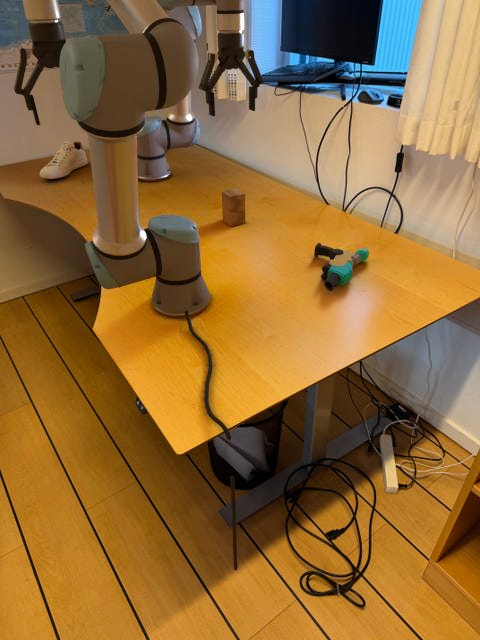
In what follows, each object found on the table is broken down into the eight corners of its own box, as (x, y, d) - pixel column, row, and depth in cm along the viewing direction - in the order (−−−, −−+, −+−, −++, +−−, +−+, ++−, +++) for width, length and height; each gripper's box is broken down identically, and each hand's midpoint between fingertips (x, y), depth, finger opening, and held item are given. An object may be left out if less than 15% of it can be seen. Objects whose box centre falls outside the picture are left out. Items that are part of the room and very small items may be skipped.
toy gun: (291, 271, 128) (345, 285, 123) (324, 234, 147) (372, 245, 141) (290, 285, 131) (343, 299, 125) (322, 247, 150) (369, 258, 144)
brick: (237, 216, 170) (237, 187, 163) (245, 223, 165) (245, 193, 159) (222, 220, 167) (221, 191, 161) (230, 226, 163) (229, 196, 157)
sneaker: (33, 182, 200) (26, 152, 193) (72, 161, 222) (66, 134, 215) (55, 184, 198) (48, 154, 191) (91, 163, 220) (86, 135, 213)
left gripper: (262, 28, 140) (261, 105, 152) (184, 33, 131) (189, 115, 143) (275, 30, 134) (273, 110, 147) (194, 35, 125) (199, 120, 138)
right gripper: (96, 17, 114) (111, 111, 127) (-17, 23, 105) (11, 123, 118) (103, 19, 109) (118, 117, 122) (-14, 25, 100) (15, 130, 112)
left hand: (232, 112), depth 145 cm, fingers open, 13 cm apart
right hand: (66, 120), depth 120 cm, fingers open, 13 cm apart
